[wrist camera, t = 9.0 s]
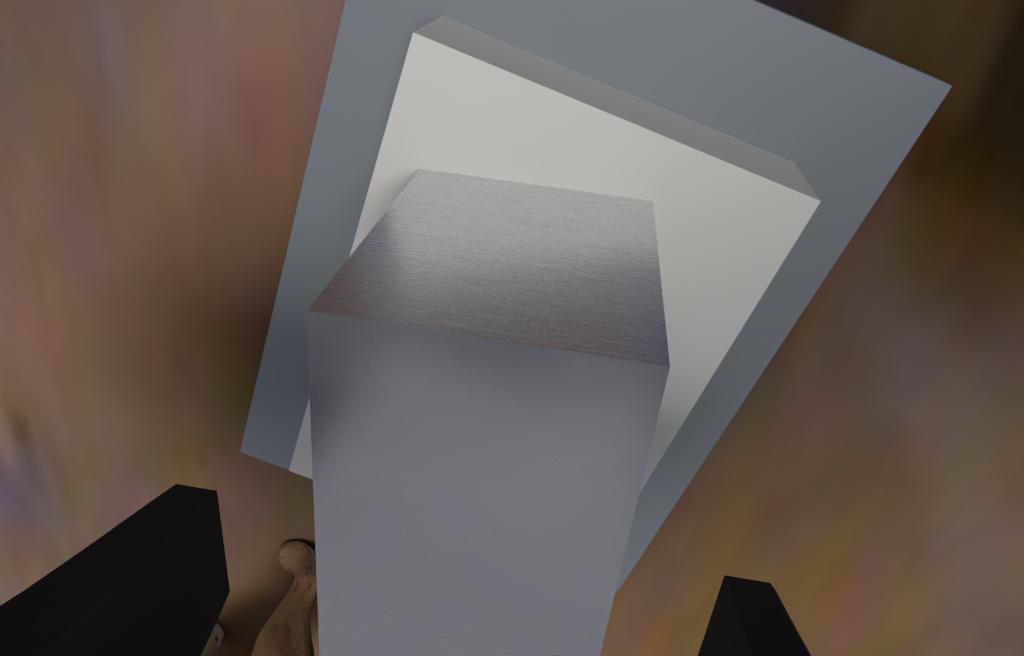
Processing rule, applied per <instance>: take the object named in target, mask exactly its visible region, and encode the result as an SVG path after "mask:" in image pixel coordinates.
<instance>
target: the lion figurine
mask: <svg viewBox="0 0 1024 656" xmlns="http://www.w3.org/2000/svg"><path fill="white" fill-rule="evenodd" d="M278 559H279V562H280V564H281V566H282V567H283V569H284V570H286V571H288V572H289V573H291V574H294V575H295V578H294V581H293V583H292V585H291V588H290V589H289V591H288V593H287V595H286V596H285V597H284V599H283V600H282V601H281V603H280V604H279V605H278V607H277V608H276V610H275V611H274V612H273V614H272V615H271V617H270V618H269V619H268V621H267V622H266V624H265V626H264V627H263V629H262V630H261V632H260V634H259V636H258V638H257V640H256V643H255V647H254V650H253V652H252V654H251V656H314V649H313V643H312V637H311V625H310V617H311V607H312V603H313V600H314V598H315V596H316V594H317V577H316V555H315V552H314V550H313V549H312V548H311V547H310V546H308V545H307V544H306V543H304V542H300V541H291V542H286V543H284V544H283V545H282V546H281V547H280V551H279V556H278ZM223 636H224V632H223V630H222V629H221V627H220V626H219V625H218V624H217V623H216V624H215V626H214V629H213V631H212V633H211V635H210V637H209V640H208V642H207V644H206V646H205V648H204V650H203V653H202V655H201V656H214V655H215V654H216V653H217V652H218V650H219V649H220V648H221V642H222V639H223Z"/></svg>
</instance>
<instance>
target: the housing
mask: <svg viewBox="0 0 1024 656" xmlns="http://www.w3.org/2000/svg"><path fill="white" fill-rule="evenodd" d="M306 312H307V338H308V365H309V391H310V418H311V444H312V471H313V497H314V524H315V551H316V577H317V604H318V630H319V656H600V653H601V649H602V645H603V641H604V637H605V632H606V628H607V624H608V620H609V616H610V612H611V608H612V604H613V600H614V595H615V591H616V587H617V583H618V579H619V575H620V571H621V567H622V563H623V558H624V554H625V550H626V546H627V542H628V538H629V534H630V530H631V526H632V521H633V517H634V513H635V509H636V505H637V501H638V497H639V493H640V489H641V484H642V480H643V476H644V472H645V468H646V464H647V460H648V456H649V452H650V447H651V443H652V439H653V435H654V431H655V427H656V423H657V419H658V415H659V410H660V406H661V402H662V398H663V394H664V390H665V386H666V382H667V378H668V373H669V369H670V361H669V352H668V342H667V333H666V323H665V313H664V304H663V294H662V284H661V275H660V265H659V256H658V246H657V236H656V227H655V217H654V208H653V201H648V200H640V199H633V198H626V197H619V196H612V195H605V194H598V193H591V192H584V191H576V190H569V189H562V188H555V187H548V186H541V185H534V184H527V183H520V182H512V181H505V180H498V179H491V178H484V177H477V176H470V175H463V174H455V173H448V172H441V171H434V170H427V169H419V171H418V172H417V173H416V174H415V176H414V177H413V178H412V179H411V181H410V182H409V183H408V184H407V186H406V187H405V188H404V189H403V191H402V192H401V193H400V194H399V196H398V197H397V198H396V199H395V201H394V202H393V203H392V204H391V206H390V207H389V208H388V209H387V211H386V212H385V213H384V214H383V216H382V217H381V218H380V219H379V221H378V222H377V223H376V224H375V226H374V227H373V228H372V229H371V231H370V232H369V233H368V234H367V236H366V237H365V238H364V239H363V241H362V242H361V243H360V244H359V246H358V247H357V248H356V250H355V251H354V252H353V253H352V255H351V256H350V257H349V258H348V260H347V261H346V262H345V263H344V265H343V266H342V267H341V268H340V270H339V271H338V272H337V273H336V275H335V276H334V277H333V278H332V280H331V281H330V282H329V283H328V285H327V286H326V287H325V288H324V290H323V291H322V292H321V293H320V295H319V296H318V297H317V298H316V300H315V301H314V302H313V303H312V305H311V306H310V307H309V308H308V310H307V311H306Z"/></svg>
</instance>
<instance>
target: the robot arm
mask: <svg viewBox="0 0 1024 656" xmlns="http://www.w3.org/2000/svg"><path fill="white" fill-rule="evenodd" d="M229 592H230V590H229V582H228V574H227V566H226V558H225V551H224V543H223V535H222V527H221V520H220V512H219V504H218V496H217V491H214V490H208V489H202V488H196V487H190V486H184V485H178V484H176V485H174V486H173V487H171V488H170V489H168V490H167V491H165V492H164V493H163V494H161V495H160V496H158V497H157V498H155V499H154V500H153V501H151V502H150V503H148V504H147V505H146V506H144V507H143V508H141V509H140V510H138V511H137V512H136V513H134V514H133V515H131V516H130V517H129V518H127V519H126V520H124V521H123V522H122V523H120V524H119V525H117V526H116V527H115V528H113V529H112V530H110V531H109V532H108V533H106V534H105V535H103V536H102V537H100V538H99V539H98V540H96V541H95V542H93V543H92V544H91V545H89V546H88V547H86V548H85V549H84V550H82V551H81V552H79V553H78V554H76V555H75V556H74V557H72V558H71V559H69V560H68V561H66V562H65V563H63V564H62V565H60V566H59V567H58V568H56V569H55V570H53V571H52V572H50V573H49V574H47V575H46V576H44V577H43V578H42V579H40V580H39V581H37V582H36V583H34V584H33V585H31V586H30V587H29V588H27V589H26V590H24V591H23V592H21V593H20V594H18V595H16V596H15V597H13V598H12V599H10V600H9V601H7V602H6V603H4V604H2V605H1V606H0V656H201V655H202V653H203V650H204V648H205V646H206V644H207V642H208V640H209V637H210V635H211V633H212V631H213V629H214V626H215V624H216V622H217V619H218V617H219V615H220V612H221V610H222V608H223V605H224V603H225V601H226V599H227V596H228V594H229ZM698 656H811V655H810V653H809V651H808V649H807V648H806V646H805V644H804V642H803V640H802V639H801V637H800V635H799V633H798V631H797V629H796V628H795V626H794V624H793V622H792V620H791V618H790V617H789V615H788V613H787V611H786V609H785V607H784V605H783V604H782V602H781V600H780V598H779V596H778V594H777V592H776V590H775V589H774V588H773V586H772V585H771V584H770V583H767V582H761V581H755V580H749V579H743V578H737V577H731V576H724V579H723V582H722V585H721V588H720V591H719V594H718V597H717V600H716V603H715V606H714V609H713V612H712V615H711V618H710V621H709V624H708V627H707V630H706V633H705V636H704V639H703V642H702V645H701V648H700V651H699V654H698Z"/></svg>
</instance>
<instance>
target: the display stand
mask: <svg viewBox="0 0 1024 656" xmlns="http://www.w3.org/2000/svg"><path fill="white" fill-rule="evenodd" d="M951 87H952V85H950V84H948V83H946V82H944V81H942V80H940V79H938V78H936V77H934V76H932V75H930V74H927V73H925V72H923V71H920V70H918V69H916V68H913V67H911V66H909V65H906V64H904V63H902V62H899V61H897V60H895V59H892V58H890V57H888V56H886V55H883V54H881V53H879V52H876V51H874V50H872V49H869V48H867V47H865V46H862V45H860V44H858V43H855V42H853V41H851V40H848V39H846V38H844V37H841V36H839V35H837V34H834V33H832V32H830V31H827V30H825V29H823V28H820V27H818V26H816V25H813V24H811V23H809V22H807V21H804V20H802V19H800V18H797V17H795V16H793V15H790V14H788V13H786V12H783V11H781V10H779V9H776V8H774V7H772V6H769V5H767V4H765V3H762V2H760V1H758V0H346V1H345V5H344V9H343V14H342V18H341V22H340V26H339V31H338V35H337V39H336V44H335V48H334V52H333V56H332V61H331V65H330V69H329V73H328V78H327V82H326V86H325V90H324V95H323V99H322V103H321V108H320V112H319V116H318V120H317V125H316V129H315V133H314V137H313V142H312V146H311V150H310V154H309V159H308V163H307V167H306V172H305V176H304V180H303V184H302V189H301V193H300V197H299V201H298V206H297V210H296V214H295V218H294V223H293V227H292V231H291V236H290V240H289V244H288V248H287V253H286V257H285V261H284V265H283V270H282V274H281V278H280V282H279V287H278V291H277V295H276V300H275V304H274V308H273V312H272V317H271V321H270V325H269V329H268V334H267V338H266V342H265V346H264V351H263V355H262V359H261V364H260V368H259V372H258V376H257V381H256V385H255V389H254V393H253V398H252V402H251V406H250V410H249V415H248V419H247V423H246V428H245V432H244V436H243V440H242V445H241V449H240V452H241V453H244V454H246V455H249V456H252V457H254V458H257V459H260V460H262V461H265V462H268V463H271V464H273V465H276V466H279V467H281V468H284V469H287V470H289V471H291V472H294V473H296V474H299V475H302V476H304V477H307V478H310V479H312V480H313V471H312V444H311V418H310V391H309V365H308V338H307V312H306V311H307V310H308V308H309V307H310V306H311V305H312V303H313V302H314V301H315V300H316V298H317V297H318V296H319V295H320V293H321V292H322V291H323V290H324V288H325V287H326V286H327V285H328V283H329V282H330V281H331V280H332V278H333V277H334V276H335V275H336V273H337V272H338V271H339V270H340V268H341V267H342V266H343V265H344V263H345V262H346V261H347V260H348V258H349V257H350V256H351V255H352V253H353V252H354V251H355V250H356V248H357V247H358V246H359V244H360V243H361V242H362V241H363V239H364V238H365V237H366V236H367V234H368V233H369V232H370V231H371V229H372V228H373V227H374V226H375V224H376V223H377V222H378V221H379V219H380V218H381V217H382V216H383V214H384V213H385V212H386V211H387V209H388V208H389V207H390V206H391V204H392V203H393V202H394V201H395V199H396V198H397V197H398V196H399V194H400V193H401V192H402V191H403V189H404V188H405V187H406V186H407V184H408V183H409V182H410V181H411V179H412V178H413V177H414V176H415V174H416V173H417V172H418V171H419V169H427V170H434V171H441V172H448V173H455V174H463V175H470V176H477V177H484V178H491V179H498V180H505V181H512V182H520V183H527V184H534V185H541V186H548V187H555V188H562V189H569V190H576V191H584V192H591V193H598V194H605V195H612V196H619V197H626V198H633V199H640V200H648V201H653V208H654V217H655V227H656V236H657V246H658V256H659V265H660V275H661V284H662V294H663V304H664V313H665V323H666V333H667V342H668V352H669V361H670V369H669V373H668V378H667V382H666V386H665V390H664V394H663V398H662V402H661V406H660V410H659V415H658V419H657V423H656V427H655V431H654V435H653V439H652V443H651V447H650V452H649V456H648V460H647V464H646V468H645V472H644V476H643V480H642V484H641V489H640V493H639V497H638V501H637V505H636V509H635V513H634V517H633V521H632V526H631V530H630V534H629V538H628V542H627V546H626V550H625V554H624V558H623V563H622V567H621V571H620V575H619V579H618V583H617V587H616V591H615V592H618V590H619V589H620V587H621V586H622V584H623V583H624V581H625V580H626V578H627V577H628V575H629V574H630V572H631V571H632V569H633V568H634V566H635V565H636V563H637V562H638V560H639V559H640V557H641V556H642V554H643V553H644V551H645V550H646V548H647V547H648V545H649V544H650V542H651V541H652V539H653V538H654V536H655V535H656V533H657V531H658V530H659V528H660V527H661V525H662V524H663V522H664V521H665V519H666V518H667V516H668V515H669V513H670V512H671V510H672V509H673V507H674V506H675V504H676V503H677V501H678V500H679V498H680V497H681V495H682V494H683V492H684V491H685V489H686V488H687V486H688V485H689V483H690V482H691V480H692V479H693V477H694V476H695V474H696V473H697V471H698V470H699V468H700V467H701V465H702V463H703V462H704V460H705V459H706V457H707V456H708V454H709V453H710V451H711V450H712V448H713V447H714V445H715V444H716V442H717V441H718V439H719V438H720V436H721V435H722V433H723V432H724V430H725V429H726V427H727V426H728V424H729V423H730V421H731V420H732V418H733V417H734V415H735V414H736V412H737V411H738V409H739V408H740V406H741V405H742V403H743V402H744V400H745V398H746V397H747V395H748V394H749V392H750V391H751V389H752V388H753V386H754V385H755V383H756V382H757V380H758V379H759V377H760V376H761V374H762V373H763V371H764V370H765V368H766V367H767V365H768V364H769V362H770V361H771V359H772V358H773V356H774V355H775V353H776V352H777V350H778V349H779V347H780V346H781V344H782V343H783V341H784V340H785V338H786V337H787V335H788V334H789V332H790V330H791V329H792V327H793V326H794V324H795V323H796V321H797V320H798V318H799V317H800V315H801V314H802V312H803V311H804V309H805V308H806V306H807V305H808V303H809V302H810V300H811V299H812V297H813V296H814V294H815V293H816V291H817V290H818V288H819V287H820V285H821V284H822V282H823V281H824V279H825V278H826V276H827V275H828V273H829V272H830V270H831V269H832V267H833V265H834V264H835V262H836V261H837V259H838V258H839V256H840V255H841V253H842V252H843V250H844V249H845V247H846V246H847V244H848V243H849V241H850V240H851V238H852V237H853V235H854V234H855V232H856V231H857V229H858V228H859V226H860V225H861V223H862V222H863V220H864V219H865V217H866V216H867V214H868V213H869V211H870V210H871V208H872V207H873V205H874V204H875V202H876V201H877V199H878V197H879V196H880V194H881V193H882V191H883V190H884V188H885V187H886V185H887V184H888V182H889V181H890V179H891V178H892V176H893V175H894V173H895V172H896V170H897V169H898V167H899V166H900V164H901V163H902V161H903V160H904V158H905V157H906V155H907V154H908V152H909V151H910V149H911V148H912V146H913V145H914V143H915V142H916V140H917V139H918V137H919V136H920V134H921V132H922V131H923V129H924V128H925V126H926V125H927V123H928V122H929V120H930V119H931V117H932V116H933V114H934V113H935V111H936V110H937V108H938V107H939V105H940V104H941V102H942V101H943V99H944V98H945V96H946V95H947V93H948V92H949V90H950V89H951Z"/></svg>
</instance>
